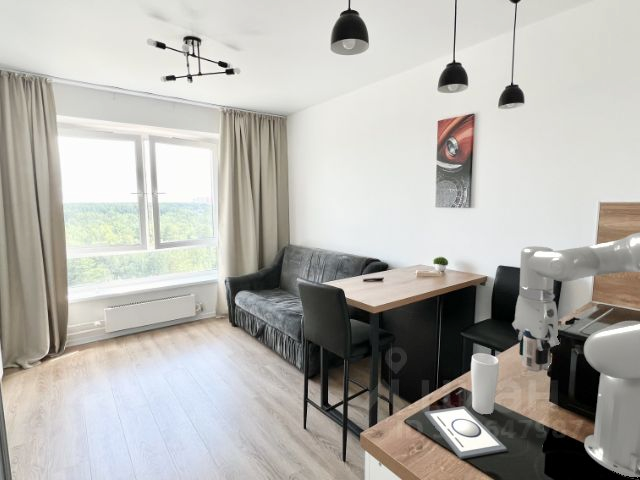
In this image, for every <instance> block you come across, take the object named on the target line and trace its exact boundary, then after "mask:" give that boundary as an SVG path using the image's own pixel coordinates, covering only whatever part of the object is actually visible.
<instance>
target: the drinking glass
mask: <svg viewBox="0 0 640 480" xmlns="http://www.w3.org/2000/svg"><path fill="white" fill-rule="evenodd" d="M499 369H500V361H499V359H498V358H497V357H495V356H494V355H491V354H488V353H480V352H479V353H475V354H473V355H472V356H471V362H470V379H471V380H470V381H471V401H472V402H471V406H472V409H473V410H474V411H475V412H476V413H477V414H480V415H483V414H490V415H492V414H493V412H494V405H495V398H496V393H497V387H498V379H499ZM491 413H492V414H491Z"/></svg>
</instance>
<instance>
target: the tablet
mask: <svg viewBox="0 0 640 480" xmlns="http://www.w3.org/2000/svg"><path fill="white" fill-rule="evenodd" d="M423 414H424V415H425V417H426V418H427V419H428V421H429V422H430V423H431V424H432V425H433V427H434V426H435V427H434V428H435V429H436V431H437V432H438V431H439V432H440V433H439V432H438V433H439V434H440V435H441V437H442V438H443V439H444V440H445V442H446V443H447V444H448V446H449V447H450V448H451V449H452V451H453V452H454V453H455V454H456V455H457V457H458V458H459V459H460V460H463V459H469V458H474V457H478V456H479V457H480V456H485V455H486V456H487V455H491V454H496V453H497V454H498V453H501V452H507V451H508V449H507V447H506V446H505V445H504V444H503V443H502V442H501V441H500V440H499V439H498V437H496V436H495V435H494V434H493V433H492V432H491V431H490V430H489V429H488V428H487V427H486V426H485V425H484V424H482V422H481V421H480V420H479V419H478V418H477V417H476V416H475V415H473V414H472V412H470V410H469V409H468V408H466V406H464V405H462V406H458V407H450V408H443V409H436V410H430V411H424V412H423Z"/></svg>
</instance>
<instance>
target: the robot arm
mask: <svg viewBox="0 0 640 480" xmlns="http://www.w3.org/2000/svg"><path fill="white" fill-rule="evenodd" d="M519 265H520V270H519V272H520V273H519V295H518V297H517V301H516V305H515V314H514V320H513V322H512V323H511V325H512V327H513V329H514V330H515V332H516V334H517V336H518V337H517V339H518V341H519V350H518V351H519V352H518V353H519V355H520V356H522V357H523V337H524V331H525V329H528V330H529V331H530V333H531V335H532V336H533V337H535V338H536V339H537V345H538V349H536V361H535V362H536V364H538V365H540V364H547V363H548V350H550V349H551V348H552V347H554V346H556V345H559V344H560V345H561V341H560V342H559V340H558V338H557V336H558V321H559V319H558V309H557V304H556V301H554V299H555V297H556V295H555V294H554V282H555V281H558V282H572V281H576V280H577V281H578V280H579V279H584V278H589V277H595V276H601V275H603V276H604V275H610V274H619V273H627V272H629V273H630V272H632V273H633V272H635V273H636V272H637V273H638V274H639V273H640V232H636V233H631V234H629V235H627V236H625V237H624V238H620V239H618V240H613V241H608V242H603V243H598V244H592V245H588V246H587V245H586V246H582V247H581V246H579V247H574V248H567V249H562V250H560V249H559V250H553V249H552V248H550V247H545V246H526V247H524V248H522V249H521V252H520V264H519ZM554 280H555V281H554ZM549 339H550V341H549ZM542 340H544V344H543V343H542ZM583 355H584V357H585V359H586V361H587V362H588V364H589V365H590V366H591V367H592V368H593V369H594V370H596V371H597V372H598V373H600V376H599V384H598V393H597V403H596V411H595V419H594V420H595V422H594V429H593V430H594V431H593V434H590V435H588V436H586V437H585V439H584V448H585V451H586V453H587V454H588V455H589V456H590V457H591V458H592V459H593V460H594V461H595V462H597V463H598V464H599V465H601V466H603V467H604V468H606V469H608V470H609V471H612V472H613V471H614V472H613V473H615V472H616V474H618V473H619V474H618V475H620V474H621V476H623V475H624V476H623V477H626V476H629V477H637V478H638V477H640V321H638V320H625V321H620V322H616V323H614V324H612V325H609V326H607V327H604V328H602V329H599V330H597V331H595V332H593V333H591V334H590V335H589V336H588V337H587V338H586V341H584V345H583ZM629 477H628V478H629Z"/></svg>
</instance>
